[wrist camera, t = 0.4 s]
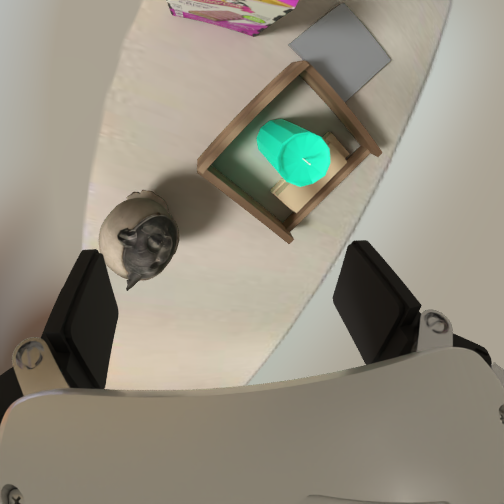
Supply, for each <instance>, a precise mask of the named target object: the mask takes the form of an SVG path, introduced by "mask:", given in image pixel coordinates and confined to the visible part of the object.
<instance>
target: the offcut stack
mask: <svg viewBox="0 0 504 504" xmlns="http://www.w3.org/2000/svg"><path fill="white" fill-rule="evenodd" d="M322 139H323V140H324V142H325V143H326V144H327V146H328V147H329V149H330V160H331V163H330V166H329V168H328V170H327V173H326V175H325V176H324V177H323V178H321V179H320V180H318V181H316V182H315V183H313V184H310V185H306V186H303V187H298V186H296V185H293V184H291V183H288V182H286V181H285V180H284V178H282V179H281V180H280V181H279V182H278V183H277V184H276V185H275V186H274V187H273V188H272V189H271V190H270V191H271V192H272V193H273V194H274V195H275V196H276V197H277V198H278V199H279V200H281V201H282V202H283V203H284V204H285V205H286V206H288V207H289V208H290V209H291V210H292V211H294V212H296V213H297V212H298V211H299V210H300V209H301V208H302V207H303V206H304V205H305V204H306V203H307V202H308V201H309V200H310V199H311V198H312V197H313V196H314V195H315V194H316V193H317V192H318V191H319V190H320V189H321V188H322V187H323V186H324V185H325V184H326V183H327V182H328V181H329V180H330V179H331V178H332V177H333V176H334V175H335V174H336V173H337V172H338V171H339V170H340V169H341V168H342V167H343V166H344V165H345V164H346V163H347V161H346V159H345V158H346V157H347V156H348V155H349V153H348V151H347V150H346V149H345V148H344V147H343V145H342V144H341V143H340V142H339V141H338V140H337V138H336V137H335V136H334V135H333V134H332V133H331V132H329V131H328V132H327V133H326V134H325V135H324V136H323V137H322Z"/></svg>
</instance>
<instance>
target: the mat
mask: <svg viewBox="0 0 504 504" xmlns="http://www.w3.org/2000/svg"><path fill="white" fill-rule="evenodd" d="M289 46H290V47H291V48H292V49H293V50H294V51H295V52H296V53H297V54H298V55H299V56H300V57H301V58H302V59H303V60H305V61H308V62H309V63H310V64H311V65H312V66H313V67H314V68H315V69H316V71H317V72H318V73H319V74H320V75H321V76H322V77H323V78H324V79H325V80H326V81H327V83H328V84H329V85H330V86H331V87H332V88H333V89H334V91H335V92H336V93H337V94H338V95H339V96H340V98H341V99H342V100H343V101H344V102H346V101H347V100H348V99H349V98H350V97H351V96H352V95H353V94H354V93H356V92H357V91H358V90H359V89H360V88H361V87H362V86H363V85H364V84H365V83H366V82H367V81H369V80H370V79H371V78H372V77H373V76H374V75H375V74H376V73H377V72H378V71H380V70H381V69H382V68H383V67H384V66H385V65H386V64H387V63H388V62H390V61H391V60H390V58H389V57H388V56H387V54H386V53H385V51H384V50H383V49H382V47H381V46H380V45H379V43H378V42H377V41H376V40H375V38H374V37H373V36H372V35H371V33H370V32H369V31H368V30H367V29H366V27H365V26H364V25H363V24H362V23H361V21H360V20H359V19H358V18H357V17H356V16H355V15H354V14H353V12H352V11H351V10H350V9H349V8H348V7H347V6H346V5H345V4H344V3H341V4H340V5H338V6H337V7H336V8H334V9H333V10H331V11H330V12H329V13H327V14H326V15H325V16H323V17H322V18H321V19H319V20H318V21H317V22H316V23H314V24H313V25H312V26H311V27H309V28H308V29H307V30H306V31H304V32H303V33H302V34H301V35H299V36H298V37H297V38H296V39H295V40H293V41H292V42H291V43H290V44H289Z"/></svg>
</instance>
